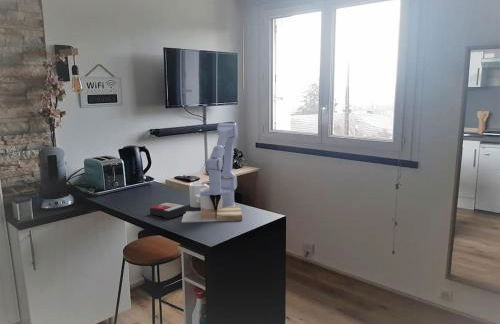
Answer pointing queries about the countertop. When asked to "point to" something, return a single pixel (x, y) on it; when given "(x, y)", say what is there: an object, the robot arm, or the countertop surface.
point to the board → (229, 213)
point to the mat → (195, 217)
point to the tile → (208, 213)
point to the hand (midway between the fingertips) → (215, 209)
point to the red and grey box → (168, 210)
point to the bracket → (201, 197)
